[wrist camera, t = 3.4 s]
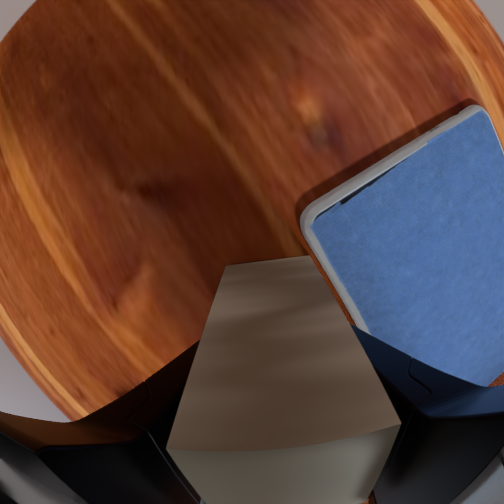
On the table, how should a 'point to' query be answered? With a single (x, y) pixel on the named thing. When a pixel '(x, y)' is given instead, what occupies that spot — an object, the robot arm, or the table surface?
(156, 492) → the robot arm
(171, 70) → the table surface
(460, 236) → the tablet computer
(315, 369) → the peg
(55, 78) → the table surface
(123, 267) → the table surface
